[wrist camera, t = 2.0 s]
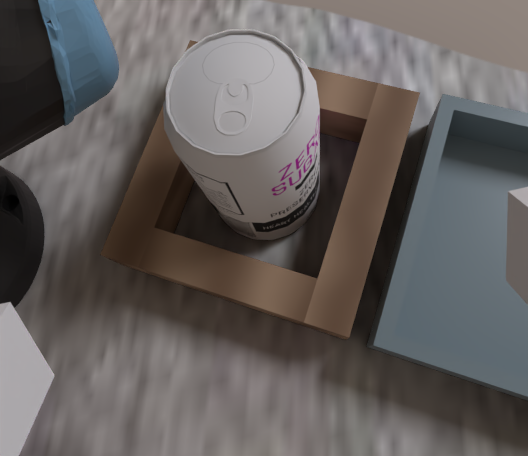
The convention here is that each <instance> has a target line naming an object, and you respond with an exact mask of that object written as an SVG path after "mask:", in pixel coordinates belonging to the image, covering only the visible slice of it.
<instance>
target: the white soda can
mask: <svg viewBox="0 0 528 456" xmlns="http://www.w3.org/2000/svg"><path fill="white" fill-rule="evenodd" d="M163 113H164V130H165V132H166V134H167V136H168V138H169V140H170V143H171V145H172V147H173V149H174V151H175V153H176V154H177V155H178V157H179V158H180V160H181V161H182V163H183V164H184V165H185V167H186V168H187V170H188V171H189V173H190V174H191V175H192V177H193V178H194V180H195V181H196V182H197V184H198V185H199V187H200V188H201V190H202V191H203V192H204V194H205V195H206V197H207V198H208V200H209V201H210V202H211V204H212V205H213V207H214V208H215V209H216V211H217V212H218V214H219V215H220V217H221V218H222V219H223V221H224V222H226V223H227V224H228V225H229V226H230V227H231V228H232V229H233V230H234V231H235V232H237V233H239V234H241V235H244V236H246V237H249V238H251V239H258V240H274V239H277V238H280V237H284V236H287V235H290V234H291V233H293V232H294V231H296V230H297V229H298V228H300V227H301V226H302V225H304V224H305V223H306V221H307V220H308V219H309V217H310V216H311V214H312V213H313V211H314V210H315V208H316V204H317V200H318V195H319V191H320V105H319V98H318V92H317V85H316V81H315V79H314V77H313V76H312V74H311V72H310V71H309V69H308V67H307V66H306V64H305V62H304V61H303V60H302V59H301V58H299V57H298V56H297V55H295V53H294V52H293V50H292V49H291V48H290V47H288V46H287V45H286V44H284V43H283V42H282V41H281V40H279V39H278V38H277V37H275V36H273V35H270V34H267V33H264V32H261V31H257V30H254V29H228V30H225V31H222V32H219V33H216V34H213V35H210V36H206V37H205V38H203V39H202V40H201V41H199V42H198V43H196V44H195V45H193V46H192V47H190V48H189V49H187V50H186V52H185V53H184V54H183V55H182V57H181V58H180V59H179V61H178V62H177V63H176V65H175V66H174V67H173V69H172V72H171V75H170V78H169V81H168V84H167V87H166V98H165V101H164V104H163Z"/></svg>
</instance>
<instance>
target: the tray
mask: <svg viewBox="0 0 528 456" xmlns="http://www.w3.org/2000/svg"><path fill="white" fill-rule="evenodd" d="M525 187H528V113H525V112H521V111H516V110H512V109H507V108H503V107H499V106H494V105H490V104H485V103H481V102H477V101H472V100H468V99H463V98H459V97H455V96H450V95H446V94H442V97H441V99H440V101H439V103H438V105H437V107H436V109H435V112H434V114H433V116H432V118H431V120H430V122H429V125H428V128H427V132H426V135H425V139H424V143H423V146H422V150H421V153H420V157H419V160H418V164H417V168H416V171H415V175H414V178H413V182H412V185H411V189H410V193H409V196H408V200H407V203H406V207H405V211H404V214H403V218H402V221H401V225H400V228H399V232H398V236H397V239H396V243H395V246H394V250H393V254H392V257H391V261H390V264H389V268H388V271H387V275H386V279H385V282H384V286H383V289H382V293H381V296H380V300H379V304H378V307H377V311H376V314H375V318H374V322H373V325H372V329H371V332H370V336H369V339H368V343H367V347H368V348H371V349H374V350H377V351H380V352H383V353H386V354H389V355H392V356H395V357H398V358H401V359H404V360H407V361H410V362H413V363H416V364H419V365H422V366H425V367H428V368H431V369H434V370H437V371H440V372H443V373H446V374H449V375H452V376H455V377H458V378H461V379H464V380H467V381H470V382H473V383H476V384H479V385H482V386H485V387H488V388H491V389H494V390H497V391H500V392H503V393H506V394H509V395H512V396H515V397H518V398H521V399H524V400H527V401H528V305H527V304H526V303H525V301H524V300H523V299H522V298H521V297H520V296H519V295H518V293H517V292H516V291H515V290H514V289H513V288H512V287H511V286H510V284H509V283H508V282H507V281H506V252H507V212H508V191H511V190H516V189H520V188H525Z"/></svg>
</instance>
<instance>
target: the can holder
mask: <svg viewBox="0 0 528 456" xmlns="http://www.w3.org/2000/svg"><path fill="white" fill-rule="evenodd" d="M196 43H198V42H195V41H191V40H190V42H189V44H188V47H187V49H189V48H190V47H192V46H193V45H195V44H196ZM187 49H186V50H187ZM185 52H186V51H185ZM308 69H309V71H310V72H311V74H312V76H313V77H314V79H315V81H316V85H317V92H318V98H319V105H320V133H323V134H327V135H330V136H334V137H338V138H342V139H346V140H350V141H354V142H358V143H360V144H359V147H358V151H357V154H356V157H355V160H354V163H353V167H352V170H351V173H350V176H349V179H348V183H347V186H346V189H345V192H344V195H343V199H342V202H341V205H340V208H339V211H338V215H337V218H336V221H335V224H334V228H333V231H332V234H331V237H330V240H329V244H328V247H327V250H326V253H325V256H324V260H323V263H322V266H321V269H320V272H319V276H318V279H317V278H314V277H311V276H308V275H304V274H301V273H298V272H295V271H292V270H288V269H285V268H282V267H279V266H276V265H272V264H269V263H266V262H263V261H260V260H257V259H253V258H250V257H247V256H244V255H241V254H237V253H234V252H231V251H228V250H225V249H221V248H218V247H215V246H212V245H209V244H205V243H202V242H199V241H196V240H193V239H190V238H186V237H183V236H180V235H177V234H174V232H175V229H176V227H177V224H178V221H179V219H180V216H181V214H182V211H183V209H184V206H185V203H186V201H187V198H188V196H189V193H190V191H191V188H192V185H193V183H194V178H193V177H192V175H191V174H190V173H189V171H188V170H187V168H186V167H185V165H184V164H183V163H182V161H181V160H180V158H179V157H178V155H177V154H176V153H175V151H174V149H173V147H172V145H171V143H170V140H169V138H168V136H167V134H166V132H165V130H164V113H163V106H162V109H161V111H160V113H159V116H158V118H157V120H156V123H155V125H154V128H153V130H152V132H151V135H150V137H149V139H148V142H147V144H146V147H145V149H144V151H143V154H142V156H141V159H140V161H139V163H138V166H137V168H136V170H135V173H134V175H133V178H132V180H131V182H130V185H129V187H128V190H127V192H126V194H125V197H124V199H123V201H122V204H121V206H120V209H119V211H118V213H117V216H116V218H115V220H114V223H113V225H112V228H111V230H110V232H109V235H108V237H107V240H106V242H105V244H104V247H103V249H102V251H101V254H100V255H102V256H104V257H106V258H108V259H110V260H113V261H115V262H117V263H119V264H121V265H123V266H126V267H129V268H132V269H135V270H138V271H141V272H144V273H147V274H150V275H153V276H156V277H159V278H162V279H165V280H168V281H171V282H174V283H177V284H180V285H183V286H186V287H189V288H192V289H195V290H198V291H201V292H204V293H207V294H210V295H213V296H216V297H219V298H222V299H225V300H228V301H231V302H234V303H237V304H240V305H243V306H246V307H249V308H252V309H255V310H258V311H261V312H264V313H267V314H270V315H273V316H276V317H279V318H282V319H285V320H288V321H291V322H294V323H297V324H300V325H303V326H306V327H309V328H312V329H315V330H318V331H321V332H324V333H327V334H330V335H333V336H336V337H339V338H342V339H345V340H346V339H348V338H349V337H350V333H351V330H352V326H353V323H354V319H355V316H356V312H357V309H358V305H359V302H360V298H361V295H362V291H363V288H364V285H365V281H366V278H367V274H368V271H369V267H370V264H371V260H372V257H373V253H374V250H375V246H376V243H377V239H378V236H379V233H380V229H381V226H382V222H383V219H384V215H385V212H386V208H387V205H388V201H389V198H390V194H391V191H392V188H393V184H394V181H395V177H396V174H397V170H398V167H399V163H400V160H401V156H402V153H403V149H404V146H405V142H406V139H407V136H408V132H409V129H410V125H411V122H412V118H413V115H414V111H415V108H416V104H417V101H418V97H419V94H420V93H419V92H414V91H410V90H406V89H401V88H397V87H392V86H388V85H384V84H379V83H375V82H371V81H366V80H362V79H357V78H353V77H349V76H344V75H340V74H335V73H331V72H327V71H322V70H318V69H314V68H309V67H308Z"/></svg>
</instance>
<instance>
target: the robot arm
mask: <svg viewBox="0 0 528 456" xmlns="http://www.w3.org/2000/svg"><path fill="white" fill-rule="evenodd" d="M118 73H119V63H118V58H117V54H116V51H115V49H114V46H113V44H112V41H111V39H110V36H109V34H108V32H107V29H106V27H105V25H104V22H103V20H102V18H101V16H100V13H99V11H98V9H97V7H96V5H95V3H94V0H0V160H1V159H3V158H5V157H7V156H9V155H10V154H12V153H14V152H16V151H18V150H19V149H21V148H23V147H25V146H26V145H28V144H30V143H32V142H34V141H35V140H37V139H39V138H41V137H43V136H44V135H46V134H48V133H50V132H51V131H53V130H55V129H57V128H59V127H60V126H62V125H64V126H66V125H68V124H69V123H70V122H72V121H73V119H74V116H75V115H77V114H78V113H80V112H81V111H83V110H84V109H86V108H87V107H89V106H90V105H92V104H93V103H95V102H96V101H98V100H99V99H101V98H102V97H104V96H106V95H107V94H108V93H109V92H110V90H111V89H112V88H113V86H114V84H115V82H116V81H117V78H118ZM43 247H44V223H43V217H42V213H41V210H40V207H39V204H38V202H37V200H36V198H35V196H34V194H33V193H32V191H31V190H30V189H29V187H28V186H27V185H26V184H25V183H24V182H23V181H22V180H21V179H20V178H18V177H17V176H16V175H14V174H13V173H11V172H10V171H8V170H6V169H4V168H3V167H1V166H0V456H19V454H20V452H21V450H22V447H23V445H24V443H25V441H26V438H27V436H28V434H29V432H30V430H31V427H32V425H33V423H34V421H35V418H36V416H37V414H38V412H39V409H40V407H41V405H42V403H43V401H44V398H45V396H46V394H47V392H48V389H49V387H50V385H51V383H52V380H53V378H54V376H55V375H54V374H53V372H52V370H51V369H50V367H49V365H48V364H47V362H46V360H45V359H44V357H43V355H42V354H41V352H40V350H39V349H38V347H37V345H36V344H35V342H34V340H33V339H32V337H31V335H30V334H29V332H28V330H27V329H26V327H25V325H24V324H23V322H22V321H21V319H20V317H19V316H18V314H17V312H16V311H15V309H14V308H15V306H16V305H17V304H18V303H19V302H20V300H21V299H22V298H23V296H24V295H25V294H26V292H27V291H28V289H29V287H30V285H31V284H32V282H33V280H34V278H35V275H36V273H37V270H38V268H39V265H40V261H41V258H42V253H43ZM506 281H507V282H508V283H509V284H510V286H511V287H512V288H513V289H514V290H515V291H516V292H517V293H518V295H519V296H520V297H521V298H522V299H523V300H524V301H525V303H526V304H527V305H528V187H525V188H520V189H516V190H511V191H508V212H507V252H506Z"/></svg>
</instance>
